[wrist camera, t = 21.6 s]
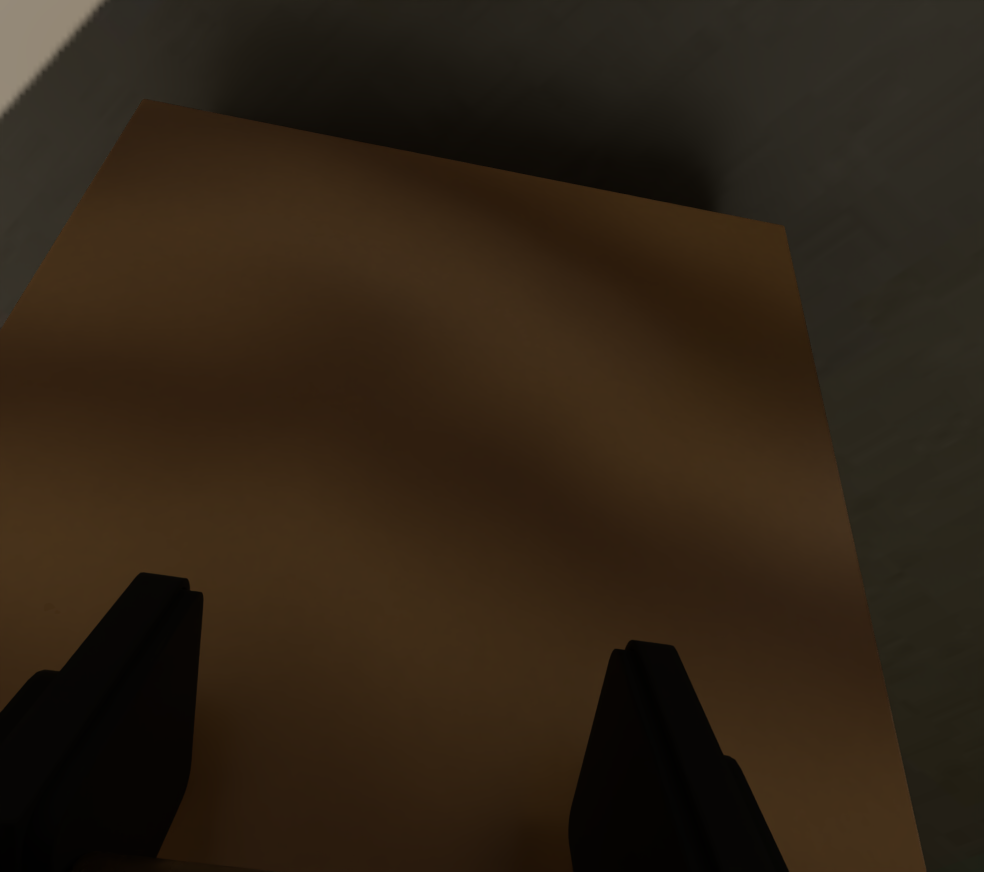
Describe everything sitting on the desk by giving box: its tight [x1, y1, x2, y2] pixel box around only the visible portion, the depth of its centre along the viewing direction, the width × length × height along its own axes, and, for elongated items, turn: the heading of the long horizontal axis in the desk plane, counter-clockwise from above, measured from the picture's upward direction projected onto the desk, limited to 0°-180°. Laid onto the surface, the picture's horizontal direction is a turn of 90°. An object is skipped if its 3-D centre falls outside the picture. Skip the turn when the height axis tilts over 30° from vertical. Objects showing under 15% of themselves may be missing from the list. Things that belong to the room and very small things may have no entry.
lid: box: [0, 99, 927, 872], centre depth 12 cm, size 18×16×5 cm
